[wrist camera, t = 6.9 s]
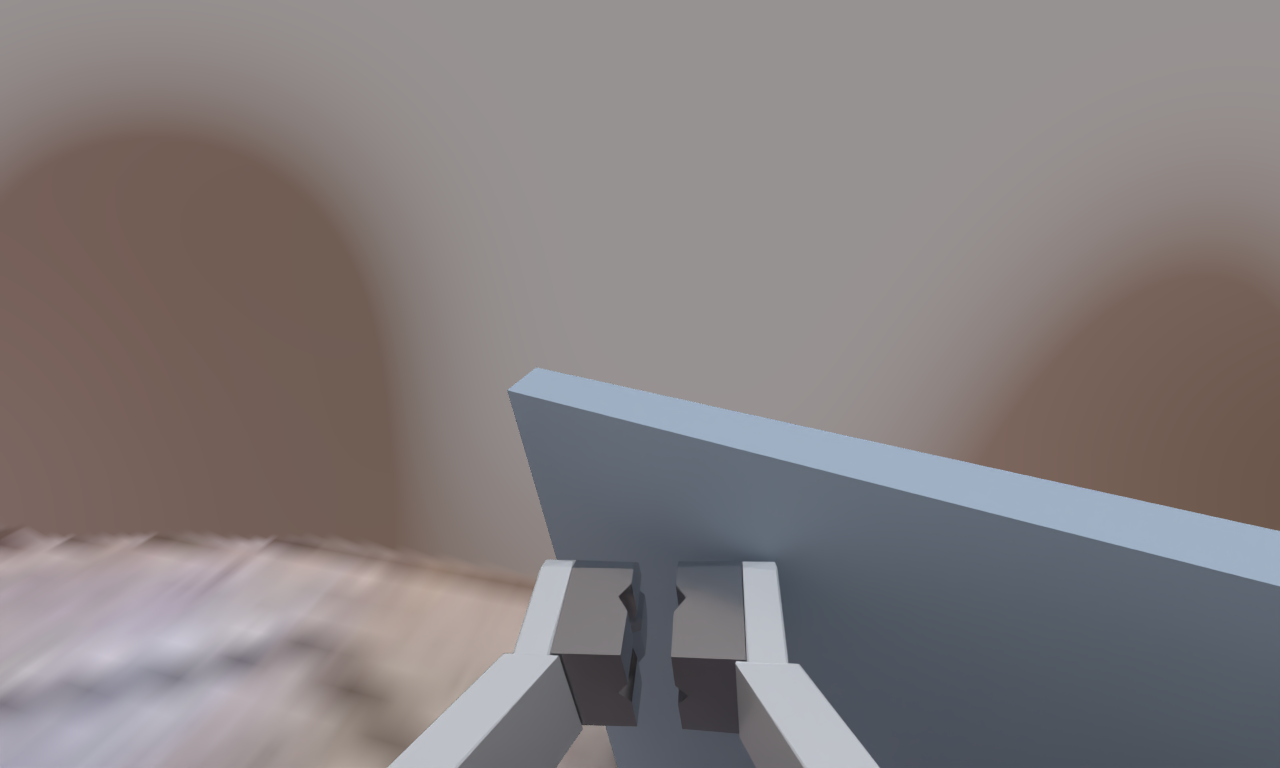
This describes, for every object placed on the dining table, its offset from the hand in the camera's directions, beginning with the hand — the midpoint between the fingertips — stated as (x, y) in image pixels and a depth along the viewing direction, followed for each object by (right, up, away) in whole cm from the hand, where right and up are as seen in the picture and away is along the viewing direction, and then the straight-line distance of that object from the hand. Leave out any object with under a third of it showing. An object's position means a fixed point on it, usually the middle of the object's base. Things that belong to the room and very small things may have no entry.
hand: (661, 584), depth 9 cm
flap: (+9, -10, +3) cm, 14 cm away
